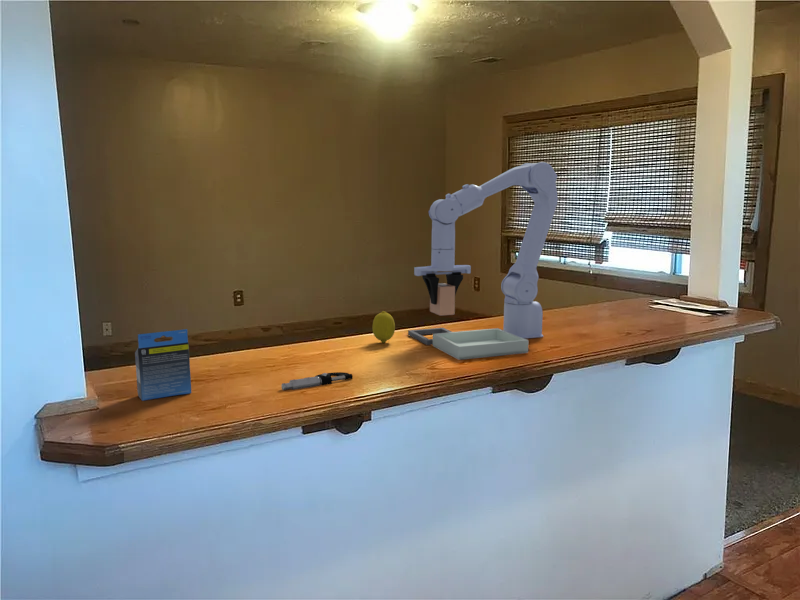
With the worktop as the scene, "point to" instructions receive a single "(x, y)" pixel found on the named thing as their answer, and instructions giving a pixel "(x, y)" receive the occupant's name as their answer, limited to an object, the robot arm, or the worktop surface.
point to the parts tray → (480, 343)
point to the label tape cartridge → (163, 365)
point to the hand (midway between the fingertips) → (442, 303)
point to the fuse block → (444, 300)
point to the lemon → (383, 326)
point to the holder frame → (418, 333)
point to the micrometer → (316, 380)
